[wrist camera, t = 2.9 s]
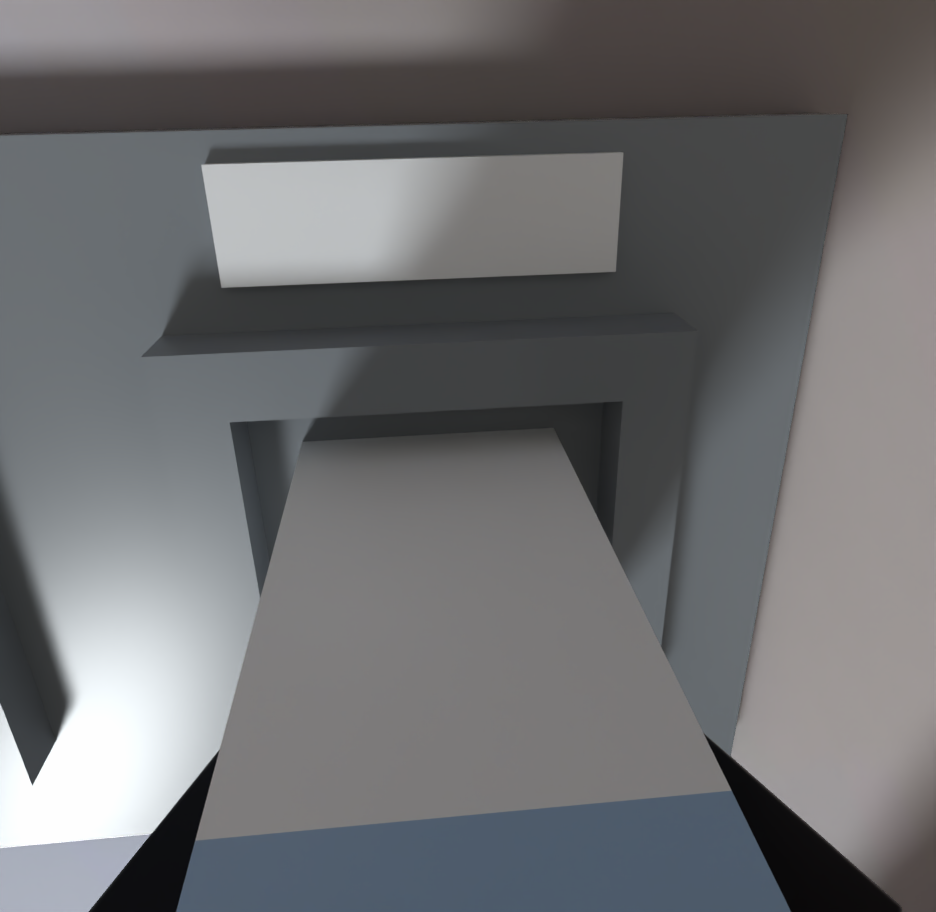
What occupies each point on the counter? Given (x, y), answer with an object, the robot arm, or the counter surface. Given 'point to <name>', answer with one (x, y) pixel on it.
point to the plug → (461, 706)
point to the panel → (368, 390)
